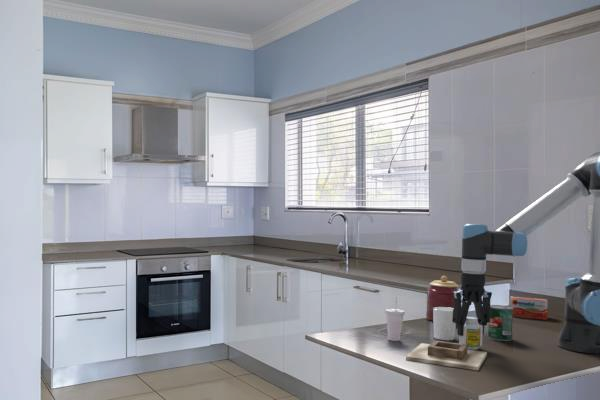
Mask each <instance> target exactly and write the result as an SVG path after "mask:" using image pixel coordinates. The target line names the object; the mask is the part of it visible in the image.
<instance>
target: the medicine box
mask: <svg viewBox="0 0 600 400" xmlns="http://www.w3.org/2000/svg"><path fill="white" fill-rule="evenodd" d="M509 307H513V318H522V319H533V320H540V319H541V320H543V321H548V317H549V301H548V300H547V299H545V298H534V297H524V296H510V299H509Z"/></svg>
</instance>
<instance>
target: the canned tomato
mask: <svg viewBox="0 0 600 400" xmlns="http://www.w3.org/2000/svg"><path fill="white" fill-rule="evenodd" d="M513 318H514V317H513V307H510V305H509V306H508V305H501V304H492V305H491V304H490V322H489V323H488V331H487V338H488V339H490V340H494V341H499V342H500V341H501V342H502V341H503V342H510V341H512V340H513V338H512V337H513V336H512V335H513V320H514V319H513Z"/></svg>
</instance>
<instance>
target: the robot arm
mask: <svg viewBox="0 0 600 400" xmlns="http://www.w3.org/2000/svg"><path fill="white" fill-rule="evenodd" d="M590 195H592V196H593V203H592V205H593V206H592V215H591V224H590V225H591V226H590V235H589V244H588V245H589V246H588V254H587V256H588V257H587V266H586V273H585V274H584V275H582V276H581V277H579V278H577V277H572V278H571V277H570V278H567V279H566V283H565V286H564V289H565V298H564V321H563V325H562V328H561V329H560V330H561V331H560V332H559V336H558V337H557V346H558V347H559V348H562V349H565V350H569V351H573V352H579V353H585V354H600V151H598V152H595V153H593V154H591V155H590V156H588V157H587V158H585V159H584V160H583V161H582V162H581V163H580V164H579V165H577V166H576V167H575V168H574V169H573V170H571V171H570V172H569V173H567V175H566V179H564V180H563V181H561V182H560V183H559V184H558V185H556V186H555V187H553V188H552V189H550V190H549V191H548V192H546V193H545V194H543V195H542V196H541V197H540V198H538V199H536V201H534V202H532V203H531V204H530V205H528V206H527V207H525V208H524V209H522V211H520V212H519V213H517V214H516V215H515V216H513V217H512V218H511V219H509V220H508V221H507V222H505V223H504V224H502V225H501V226H499V227H498V228H497V229H494V230H489V229H488V226H487V224H479V223H465V224H464V226H463V229H462V237H461V265H460V266H461V268H460V269H461V271H462V272H460V283H461V287H460V289H459V291H457V292H455V291H454V292H453V297H454V304H453V318H452V322H454V323H456V325H457V336H458V344H466V334H467V326H465V323H466V322H465V321H466V318H467V317H468V314H469V310H470V307H471V306H472V304H473V305H474V310H475V317H476V318H478V323H477V324H478V325H479V327H480V335H479V347H483V336H484V334H485V327H486V326H487V325H488V324H489V322H490V305H491V300H492V299H491V298H492V295H493V293H492V291H487V290H486V289H485V285H486V276H487V275H486V274H485V272H487V255H495V256H511V257H524V256H525V255H526V254H527V252H528V251H527V250H528V236H529V235H530V234H532V233H533V232H534V231H536V230H537V229H539V228H540V227H542V226H543V225H544V224H545V223H547V222H549V221H550V220H551V219H553V218H554V217H556V216H557V215H558V214H559V213H561V212H562V211H564V210H566V208H568V207H570V206H571V205H572V204H573V203H575V202H576V201H578V200H579V199H581V198H582V197H584V198H585V197H586V198H587V197H589V196H590Z"/></svg>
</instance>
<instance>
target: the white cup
mask: <svg viewBox="0 0 600 400" xmlns="http://www.w3.org/2000/svg"><path fill="white" fill-rule="evenodd" d="M452 318H453V308H448V307H434V308H433V321H432V322H433V324H432V325H433V338H434V339H436V340H438V341H453V340H455V333H456V329H457V328H456V325H457V324H456V323H454V322H452Z"/></svg>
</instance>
